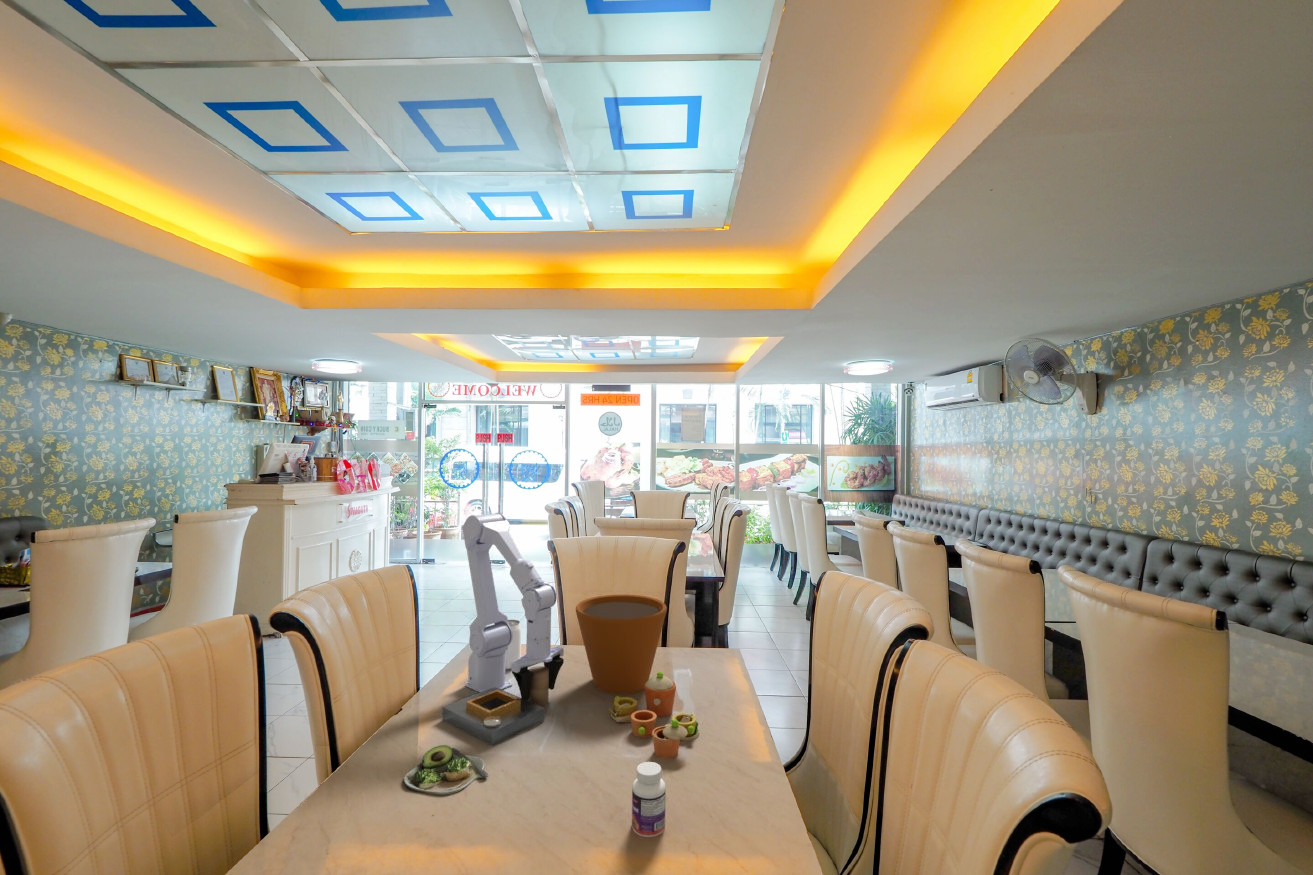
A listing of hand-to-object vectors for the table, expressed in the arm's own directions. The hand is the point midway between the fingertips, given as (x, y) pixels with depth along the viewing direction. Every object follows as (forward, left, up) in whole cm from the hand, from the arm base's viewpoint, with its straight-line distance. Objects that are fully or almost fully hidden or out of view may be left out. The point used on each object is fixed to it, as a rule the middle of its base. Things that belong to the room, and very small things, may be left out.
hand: (537, 693), depth 138 cm
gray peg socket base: (-1, -12, -2) cm, 12 cm away
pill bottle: (+49, -19, -3) cm, 53 cm away
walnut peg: (0, 0, -2) cm, 2 cm away
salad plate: (+11, -30, -3) cm, 32 cm away
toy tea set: (+30, +8, -3) cm, 32 cm away
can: (-25, +11, -3) cm, 27 cm away
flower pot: (+7, +22, -3) cm, 23 cm away
